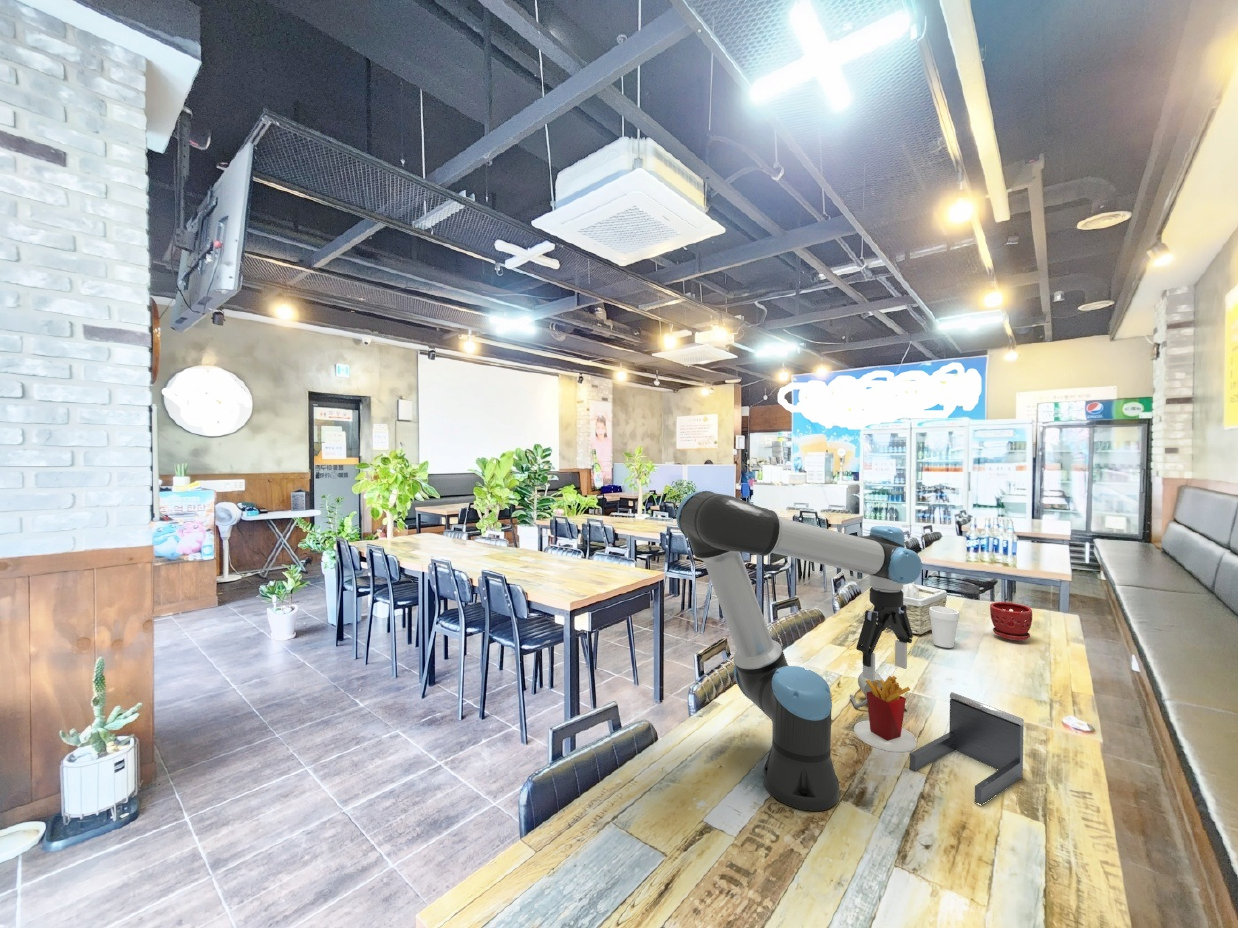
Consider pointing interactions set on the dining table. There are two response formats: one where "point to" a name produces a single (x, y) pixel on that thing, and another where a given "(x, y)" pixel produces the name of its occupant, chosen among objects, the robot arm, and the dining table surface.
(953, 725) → the gray bracket
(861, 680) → the toilet paper roll
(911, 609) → the storage basket
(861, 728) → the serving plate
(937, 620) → the foam cup
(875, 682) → the french fries
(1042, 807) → the dining table surface
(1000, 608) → the plant pot
